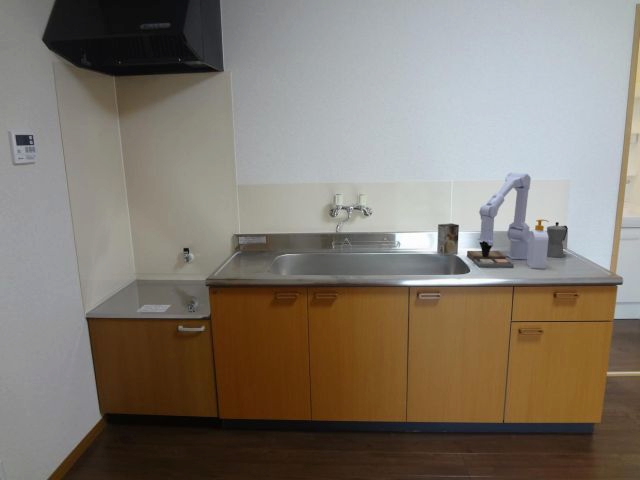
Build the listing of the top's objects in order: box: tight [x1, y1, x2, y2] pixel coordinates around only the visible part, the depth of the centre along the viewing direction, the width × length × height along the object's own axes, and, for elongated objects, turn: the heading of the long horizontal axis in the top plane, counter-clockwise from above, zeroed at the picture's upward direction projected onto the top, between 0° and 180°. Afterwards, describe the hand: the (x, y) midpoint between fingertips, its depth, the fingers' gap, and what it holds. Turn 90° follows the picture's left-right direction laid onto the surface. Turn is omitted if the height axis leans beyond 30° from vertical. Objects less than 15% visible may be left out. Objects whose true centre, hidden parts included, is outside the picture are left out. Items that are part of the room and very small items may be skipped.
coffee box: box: [436, 223, 460, 256], centre depth 249 cm, size 9×6×16 cm
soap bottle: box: [526, 219, 550, 270], centre depth 221 cm, size 9×7×23 cm
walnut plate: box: [466, 250, 507, 263], centre depth 237 cm, size 16×12×3 cm
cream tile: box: [480, 259, 493, 264], centre depth 225 cm, size 5×5×2 cm
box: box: [473, 258, 514, 269], centre depth 226 cm, size 16×10×2 cm, turn 87°
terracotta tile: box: [494, 259, 509, 264], centre depth 225 cm, size 5×5×2 cm
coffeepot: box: [546, 221, 569, 259], centre depth 243 cm, size 15×9×18 cm, turn 118°
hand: (485, 256), depth 227 cm, fingers closed
